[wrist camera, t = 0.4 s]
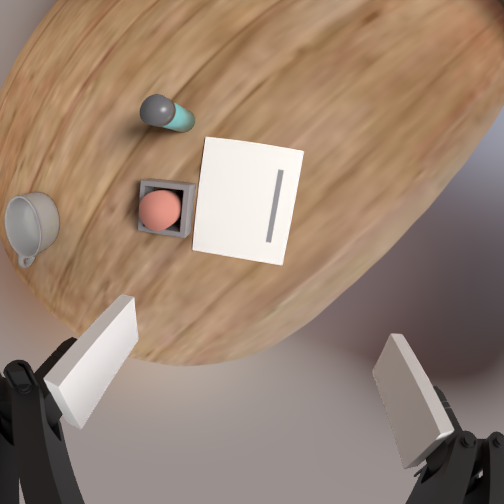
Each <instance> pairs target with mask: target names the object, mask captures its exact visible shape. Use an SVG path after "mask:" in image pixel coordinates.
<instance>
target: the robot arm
mask: <svg viewBox="0 0 504 504" xmlns="http://www.w3.org/2000/svg"><path fill="white" fill-rule="evenodd" d="M138 340H139V339H138V331H137V322H136V313H135V302H134V297H132V296H128V295H124V294H121V295H120V296H119V297H118V298H117V299H116V300H115V301H114V302H113V303H112V304H111V305H110V306H109V307H108V308H107V309H106V310H105V311H104V312H103V313H102V314H101V315H100V316H99V317H98V318H97V319H96V320H95V321H94V322H93V324H92V325H91V326H90V327H89V328H88V329H87V330H86V331H85V332H84V333H83V334H82V335H81V336H80V337H79V339H76V338H73V337H71V338H70V339H68V340H66V341H64V342H63V343H62V344H61V345H60V346H59V347H58V348H57V350H55V351H54V352H53V353H52V354H51V356H49V358H48V359H47V360H46V361H45V362H44V363H43V364H42V365H41V366H40V368H39V369H38V370H37V371H36V372H35V373H33V371H32V369H31V366H30V365H29V364H28V362H26V361H24V360H15V361H12V362H10V363H9V364H7V366H6V367H5V369H4V372H3V373H4V375H5V377H6V378H4V377H2V375H1V373H0V504H19V479H20V484H21V488H22V492H23V496H24V500H25V503H26V504H85V503H84V501H83V498H82V495H81V493H80V490H79V487H78V484H77V482H76V479H75V476H74V473H73V469H72V466H71V463H70V459H69V455H68V452H67V448H66V444H65V440H64V435H63V431H62V426H61V423H60V420H59V419H60V417H61V416H62V415H63V416H64V418H65V420H66V421H67V422H68V423H69V424H71V425H73V426H75V427H77V428H79V429H82V428H83V426H84V425H85V423H86V421H87V419H88V418H89V416H90V415H91V413H92V411H93V409H94V408H95V406H96V405H97V403H98V402H99V400H100V398H101V397H102V395H103V393H104V392H105V390H106V389H107V387H108V386H109V384H110V382H111V381H112V379H113V378H114V376H115V374H116V373H117V371H118V370H119V368H120V367H121V365H122V364H123V362H124V361H125V359H126V358H127V356H128V355H129V353H130V352H131V350H132V349H133V347H134V346H135V344H136V343H137V341H138ZM372 374H373V376H374V379H375V382H376V384H377V387H378V390H379V393H380V396H381V398H382V401H383V404H384V407H385V410H386V413H387V415H388V419H389V422H390V424H391V428H392V431H393V434H394V437H395V440H396V444H397V447H398V450H399V454H400V457H401V461H402V464H403V468H404V469H407V468H411V467H415V466H418V465H419V464H420V463H421V462H422V461H424V460H425V459H426V462H427V464H426V465H425V466H424V467H423V468H422V469H420V470H419V471H418V472H417V473H416V474H415V475H414V477H416V476H417V475H418V474H420V473H421V474H420V476H419V478H418V480H417V482H416V484H415V486H414V488H413V491H412V492H411V495H410V496H409V498H408V500H407V502H406V504H504V435H503V434H501V433H500V432H493V433H492V434H491V435H490V436H489V437H488V438H487V439H476V437H475V436H474V435H473V433H471V432H469V431H462V429H461V427H460V425H459V423H458V421H457V419H456V417H455V415H454V413H453V411H452V409H451V408H450V405H449V403H448V402H447V400H446V398H445V396H444V394H443V392H442V391H441V390H440V389H439V388H438V387H437V386H432V385H431V383H430V381H429V379H428V377H427V376H426V374H425V373H424V370H423V369H422V367H421V365H420V363H419V362H418V360H417V358H416V356H415V355H414V353H413V351H412V349H411V348H410V346H409V345H408V343H407V341H406V340H405V338H404V336H403V335H402V334H390V336H389V338H388V340H387V343H386V345H385V347H384V349H383V351H382V353H381V355H380V357H379V359H378V361H377V364H376V365H375V367H374V369H373V371H372ZM482 470H483V476H481V477H480V478H479V473H480V472H481V471H482Z"/></svg>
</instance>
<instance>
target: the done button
mask: <svg viewBox="0 0 504 504" xmlns="http://www.w3.org/2000/svg"><path fill="white" fill-rule="evenodd" d="M182 204H183V203H182V200H181V198H180V196H179V195H178V194H177V193H176V192H175V191H173V190H170V189H161V190H158V191H154V192H151V193H149V194H147V195H146V196H144V198H143V199H142V200H141V202H140V205H139V216H140V219H141V221H142V222H143V224H144V225H145V226H146V227H147V228H149V229H151V230H154V231H162V230H164V229H166V228H168V227H169V226H171V225H172V224H174V223H175V222H177V221H178V220H179V218H180V217H181V215H182Z"/></svg>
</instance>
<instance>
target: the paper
mask: <svg viewBox="0 0 504 504" xmlns="http://www.w3.org/2000/svg"><path fill="white" fill-rule="evenodd" d="M303 153H304V151H300V150H294V149H289V148H283V147H278V146H272V145H266V144H259V143H252V142H245V141H238V140H230V139H221V138H212V137H206V139H205V145H204V152H203V159H202V166H201V174H200V182H199V190H198V198H197V207H196V217H195V227H194V237H193V249H192V250H196V251H202V252H207V253H213V254H219V255H225V256H230V257H236V258H242V259H248V260H254V261H259V262H265V263H271V264H277V265H282V264H283V259H284V254H285V249H286V244H287V239H288V234H289V229H290V224H291V219H292V214H293V209H294V203H295V198H296V193H297V187H298V182H299V176H300V170H301V165H302V159H303Z"/></svg>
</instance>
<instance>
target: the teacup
mask: <svg viewBox="0 0 504 504" xmlns="http://www.w3.org/2000/svg"><path fill="white" fill-rule="evenodd" d="M59 225H60V221H59V214H58V210H57V207H56V205H55V204H54V202H53V200H52V199H51V198H50V197H49V196H47V195H46V194H44V193H40V192H34V193H29V194H25V195H21V196H16V197H14V198H12V199H11V200H10V202H9V203H8V205H7V208H6V212H5V230H6V234H7V237H8V240H9V242H10V244H11V246H12V248H13V249H14V250H15V251H16V253H17V254H19V257H18V264H19V265H20V266H21V267H22V268H28V267H29V266H31V264H32V263H33V261H34V259H35V257H36V255H37V254H38V253H40V252H42V251H43V250H45V249H46V248H48V247H49V246H50V245H51V244H52V243H53V242H54V241H55V239H56V238H57V235H58V232H59ZM25 258H27V260H26V261H25V262H24V259H25Z"/></svg>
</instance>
